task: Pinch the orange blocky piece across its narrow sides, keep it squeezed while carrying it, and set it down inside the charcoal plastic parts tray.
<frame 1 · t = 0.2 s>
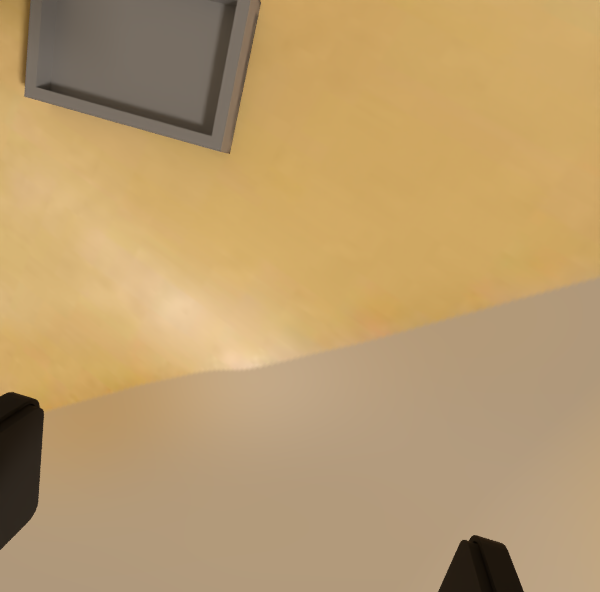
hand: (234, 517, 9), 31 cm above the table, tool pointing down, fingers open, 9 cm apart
parts tray: (146, 55, 36), on the table
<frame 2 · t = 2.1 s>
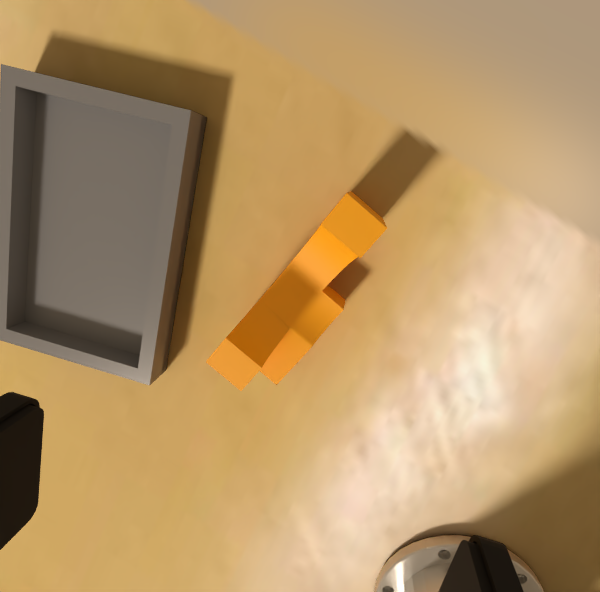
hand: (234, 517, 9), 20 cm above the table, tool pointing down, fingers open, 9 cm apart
orange blocky piece: (316, 282, 28), on the table
parts tray: (104, 232, 29), on the table
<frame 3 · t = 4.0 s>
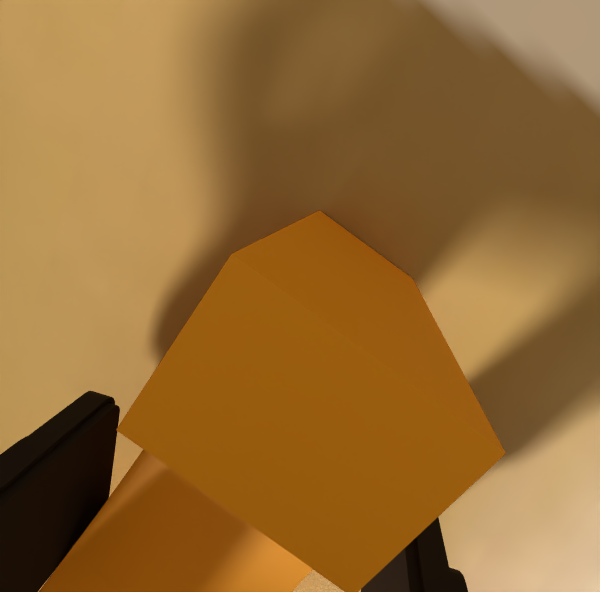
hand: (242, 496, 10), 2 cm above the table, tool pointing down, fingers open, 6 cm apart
orange blocky piece: (255, 443, 11), on the table
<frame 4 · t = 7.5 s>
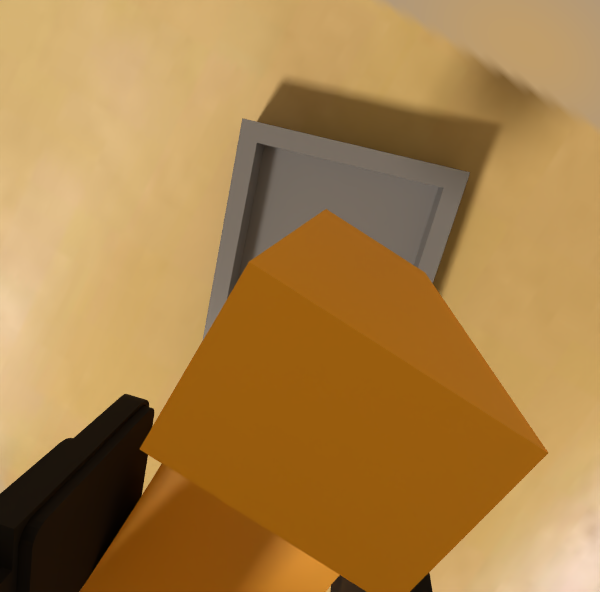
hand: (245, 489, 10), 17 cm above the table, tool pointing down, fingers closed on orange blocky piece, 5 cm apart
orange blocky piece: (274, 447, 11), point 16 cm above the table, touching gripper
parts tray: (317, 295, 27), on the table
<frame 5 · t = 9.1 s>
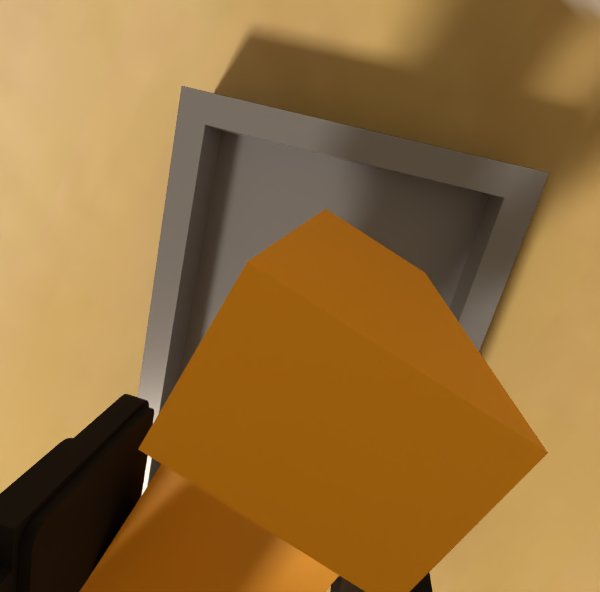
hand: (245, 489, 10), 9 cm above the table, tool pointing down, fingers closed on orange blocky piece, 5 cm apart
orange blocky piece: (273, 447, 11), point 7 cm above the table, touching gripper
parts tray: (303, 351, 18), on the table
when the fingers open (4 cm above the table, at t = 10.5 s): orange blocky piece drops 2 cm, resting on parts tray.
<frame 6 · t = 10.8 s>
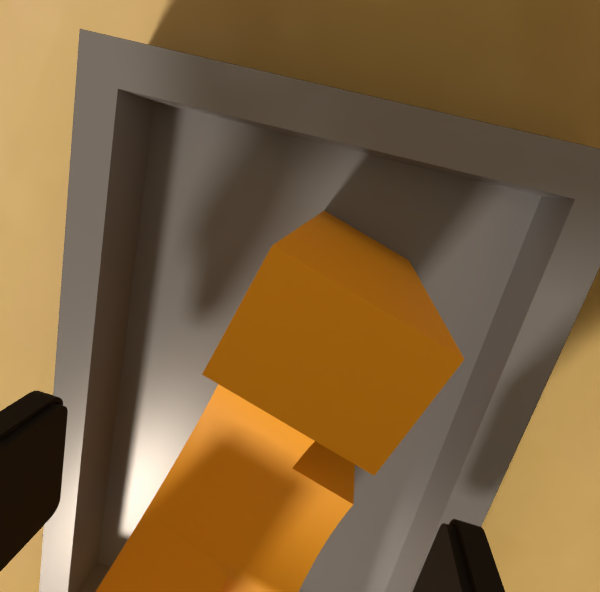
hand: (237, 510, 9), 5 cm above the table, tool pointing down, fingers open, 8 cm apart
orange blocky piece: (287, 416, 13), point 1 cm above the table, touching parts tray
parts tray: (278, 404, 14), on the table
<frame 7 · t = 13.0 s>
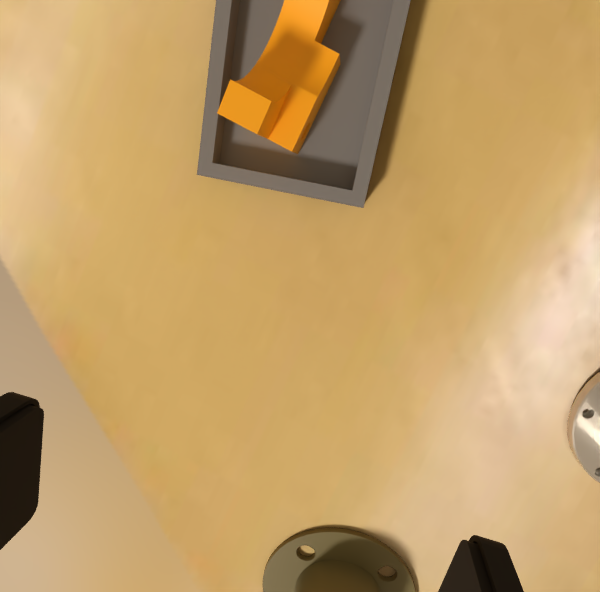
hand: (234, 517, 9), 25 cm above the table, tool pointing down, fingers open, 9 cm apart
orange blocky piece: (309, 56, 29), point 1 cm above the table, touching parts tray
parts tray: (307, 59, 29), on the table
flange: (337, 583, 43), on the table
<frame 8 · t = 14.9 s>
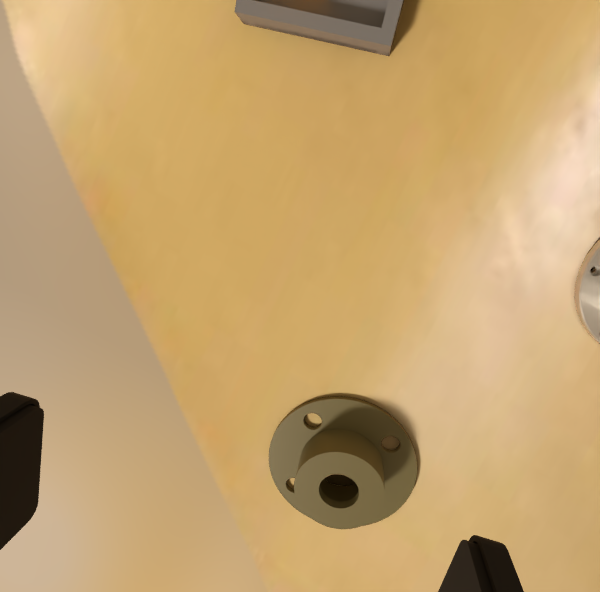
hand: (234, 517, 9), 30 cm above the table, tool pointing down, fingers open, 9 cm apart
flange: (341, 458, 44), on the table
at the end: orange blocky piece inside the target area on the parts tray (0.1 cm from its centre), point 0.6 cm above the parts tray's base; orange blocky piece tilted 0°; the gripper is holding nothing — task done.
